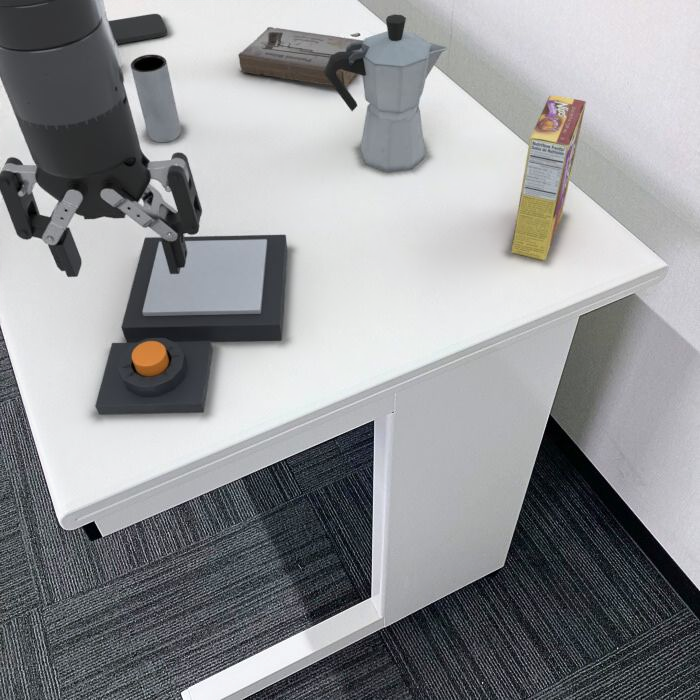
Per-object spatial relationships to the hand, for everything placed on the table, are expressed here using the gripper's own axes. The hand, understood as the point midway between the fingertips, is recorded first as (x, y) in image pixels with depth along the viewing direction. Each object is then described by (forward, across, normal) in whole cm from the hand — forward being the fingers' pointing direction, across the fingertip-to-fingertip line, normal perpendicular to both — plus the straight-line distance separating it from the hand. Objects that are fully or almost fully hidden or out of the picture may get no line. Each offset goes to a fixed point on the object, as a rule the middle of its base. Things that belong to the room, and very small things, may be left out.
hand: (126, 269), depth 62 cm
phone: (+14, -18, +73) cm, 77 cm away
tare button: (+12, 0, 0) cm, 12 cm away
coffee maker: (+15, +24, +37) cm, 47 cm away
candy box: (+15, +41, +20) cm, 48 cm away
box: (+14, +13, +61) cm, 64 cm away
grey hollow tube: (+14, -6, +44) cm, 46 cm away
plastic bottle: (+14, -18, +61) cm, 65 cm away
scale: (+14, +4, +12) cm, 19 cm away
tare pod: (+14, 0, 0) cm, 15 cm away
